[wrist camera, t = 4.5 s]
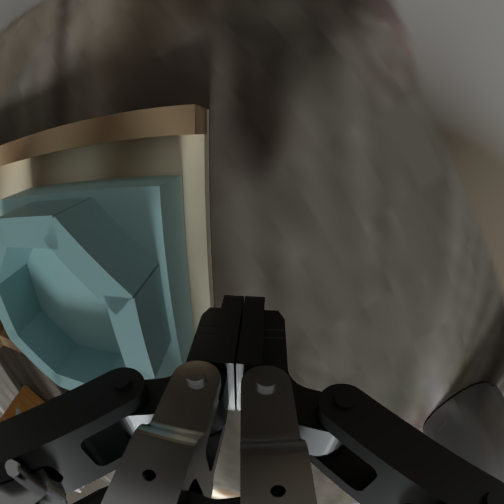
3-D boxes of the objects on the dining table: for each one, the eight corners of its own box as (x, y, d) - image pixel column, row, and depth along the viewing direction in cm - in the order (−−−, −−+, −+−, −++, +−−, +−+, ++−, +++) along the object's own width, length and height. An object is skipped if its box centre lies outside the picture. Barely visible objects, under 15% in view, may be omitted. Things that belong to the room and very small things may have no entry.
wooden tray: (209, 110, 12) (150, 87, 6) (219, 370, 18) (201, 457, 12) (-33, 163, 13) (-92, 185, 6) (8, 325, 19) (-31, 366, 13)
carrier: (181, 175, 12) (128, 202, 7) (196, 349, 16) (175, 420, 11) (30, 187, 12) (-34, 215, 8) (66, 327, 16) (27, 375, 12)
